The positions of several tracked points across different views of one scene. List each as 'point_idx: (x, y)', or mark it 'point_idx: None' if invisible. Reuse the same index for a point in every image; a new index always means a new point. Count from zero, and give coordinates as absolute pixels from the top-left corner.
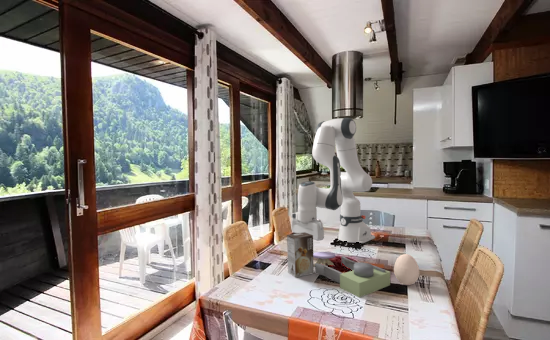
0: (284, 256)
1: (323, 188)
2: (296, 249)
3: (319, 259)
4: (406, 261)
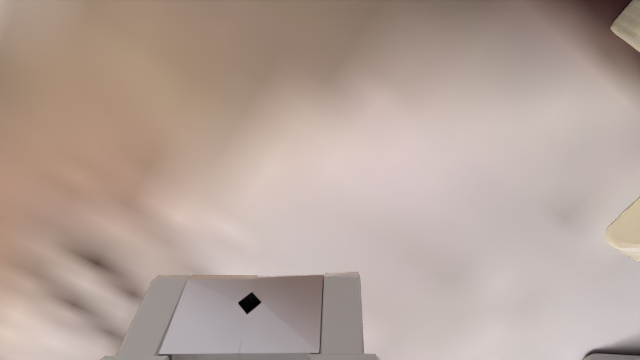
0: (22, 329)
1: None
2: None
3: None
4: None
